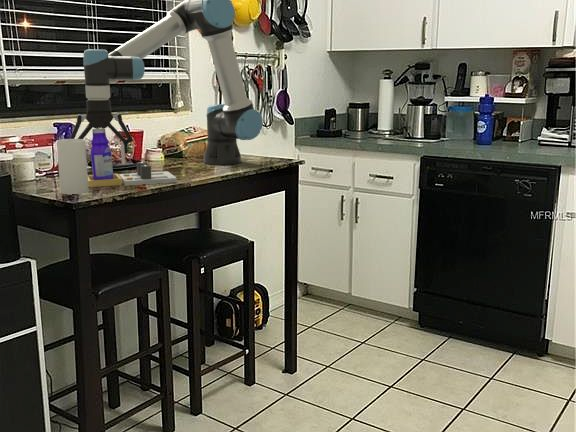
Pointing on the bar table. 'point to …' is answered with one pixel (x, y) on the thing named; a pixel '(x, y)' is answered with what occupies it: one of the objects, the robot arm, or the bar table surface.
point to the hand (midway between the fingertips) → (102, 164)
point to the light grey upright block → (72, 166)
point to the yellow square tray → (104, 181)
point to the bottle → (101, 156)
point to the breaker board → (155, 178)
